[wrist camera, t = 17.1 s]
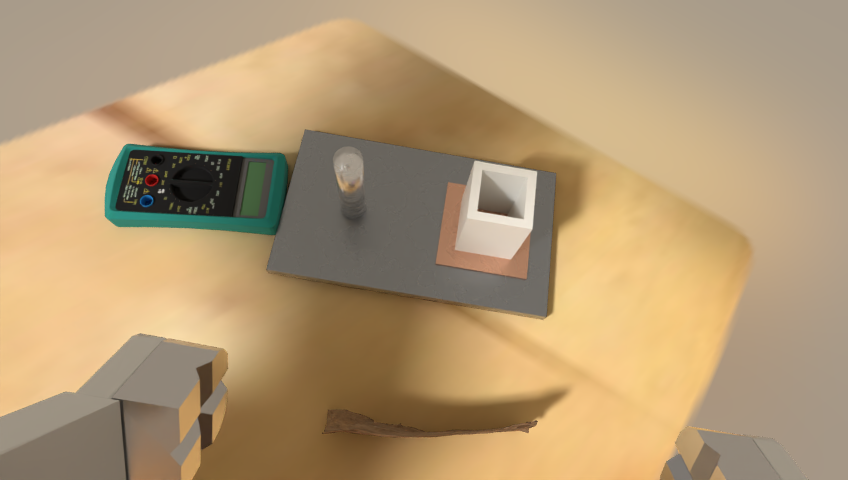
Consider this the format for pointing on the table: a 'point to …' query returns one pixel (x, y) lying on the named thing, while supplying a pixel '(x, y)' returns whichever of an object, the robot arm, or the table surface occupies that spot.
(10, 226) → the table surface
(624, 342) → the table surface
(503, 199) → the sleeve
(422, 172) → the post plate
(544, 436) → the table surface
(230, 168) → the digital multimeter
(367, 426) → the brown bark piece
